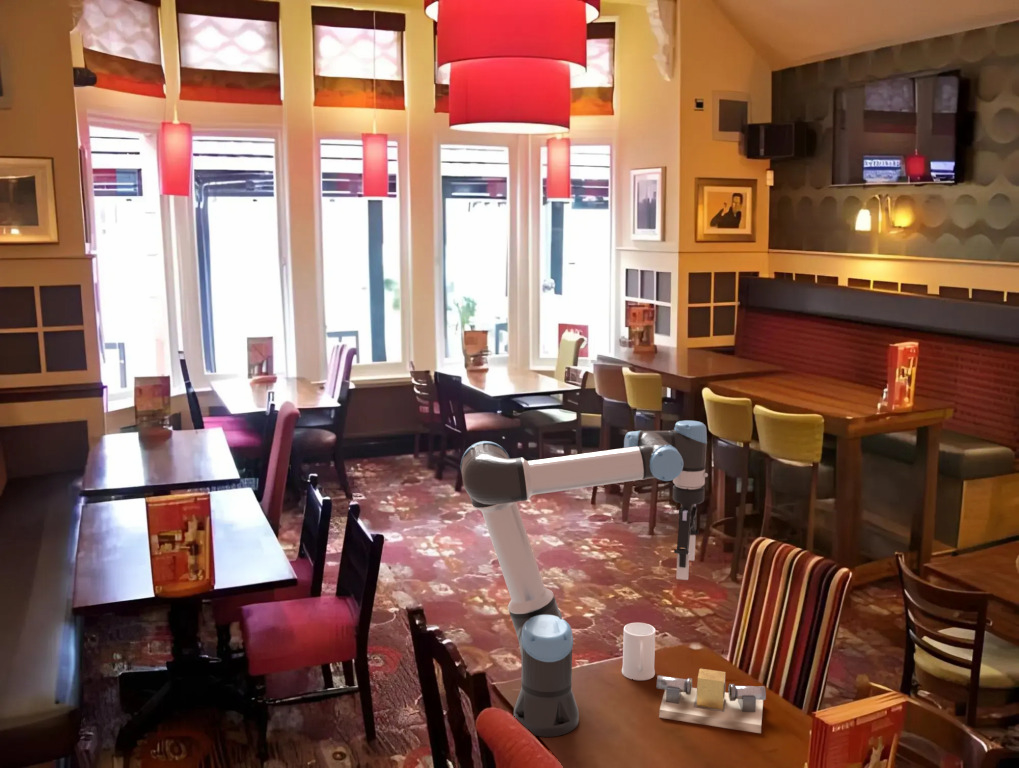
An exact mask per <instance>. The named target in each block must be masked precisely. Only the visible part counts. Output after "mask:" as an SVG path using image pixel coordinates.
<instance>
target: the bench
mask: <svg viewBox="0 0 1019 768" xmlns="http://www.w3.org/2000/svg"><path fill="white" fill-rule="evenodd" d="M763 708H764V700H756V709H755V712H742V710H741V708H740V705H739V703H738V699H736V700H735V701H730V700H729V694H728V692H726V691H725V697H724V704H723V710H721V709H714V708H708V707H701V706H697V687H692V690H691V695H686V693H685V692H681V697H680V701H679V704H676V703H669V702H666V690H664V692H663V695H662V699H661V703H660V706H659V712H658V713H659V715H658V718H660V719H666V720H673V721H679V722H680V721H681V722H686V723H691V724H697V725H705V726H710V727H711V726H712V727H717V728H723V729H729V730H737V731H741V732H742V731H743V732H749V733H755V734H756V733H757V734H762V725H763V724H762V722H763V721H762V720H763V710H764V709H763Z"/></svg>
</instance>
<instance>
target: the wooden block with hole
mask: <svg viewBox="0 0 1019 768" xmlns="http://www.w3.org/2000/svg"><path fill="white" fill-rule="evenodd" d="M696 688H697V706H701V707H708V708H714V709H721V710H723V704H724V697H725V692H726V671H721V670H712V669H707V668H706V669H705V668H699V670H698V675H697V684H696Z"/></svg>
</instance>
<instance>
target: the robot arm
mask: <svg viewBox="0 0 1019 768" xmlns="http://www.w3.org/2000/svg"><path fill="white" fill-rule="evenodd" d="M707 440H708V435H707V426H706V424H704V422H701V421H697V420H687V419H686V420H679V421H676V423H675V424H674V428H673V429H671V430H636V431H633V430H632V431H627V433H626V434H625V436H624V439H623V447H622V448H621V447H620V448H615V449H608V450H607V449H605V450H599V451H594V452H592V451H591V452H585V453H579V454H578V453H577V454H571V455H564V456H556V457H549V458H547V457H546V458H542V459H541V458H540V459H533V460H526V459H525V458H524V457H515V458H510V455H509V454H508V452H507V451H506V449H505V448H503V446H501V445H499V444H498V443H496V442H493V441H487V440H482V441H478V442H475V443H473V444H471V446H468V448H467V449H466V450H465V451H464V453H463V455H462V457H461V461H460V465H459V468H460V472H461V477H462V485H463V487H464V490H465V492H466V493H467V494H468V496H469V499H470V501H471V505H472V506H473V508H475V509H476V510H478V511H480V512H481V514H482V516H483V520H484V522H485V525H486V528H487V531H488V534H489V538H490V540H491V544H492V546H493V549H494V551H495V556H496V558H497V561H498V564H499V567H500V569H501V570H500V571H501V573H502V575H503V579H504V582H505V584H506V588H507V590H508V592H509V596H510V601H509V603H508V605H507V609H508V612H509V616H510V619H511V621H512V625H513V627H514V628H513V629H514V631H515V634H516V637H517V640H518V646H519V651H520V657H521V682H520V683H521V686H520V687H521V688H520V691H519V694H518V696H517V698H516V702H515V705H514V708H513V717H514V716H515V718H517V719H518V720H519V721H520V722H521V723H522V724H523V725H524V726H525V727H526V728H527V729H529V730H530V731H531V732H532V733H533V734H534V735H533V736H537V737H545V738H546V737H547V738H548V737H550V738H551V737H558V736H559V737H560V736H562V735H563V736H564V735H566V734H568V733H570V732H572V731H573V730H575V729H576V728H577V727H578V725H579V718H580V716H579V715H580V714H579V708H578V705H577V702H576V698H575V695H574V692H573V690H572V681H573V680H572V679H573V678H572V677H573V647H574V646H573V645H574V636H573V630H572V626H571V625H570V624H569V623H568V622H567V621H566V620H565V619H564V618H563V617H562V613H561V611H560V609H559V606H558V603H557V601H556V598H555V595H554V592H553V591H552V590H551V589H549V588H547V587H546V586H545V584H544V582H543V581H544V580H543V578H542V574H541V572H540V568H539V566H538V563H537V560H536V557H535V554H534V550H533V549H532V544H531V542H530V539H529V537H528V532H527V530H526V527H525V524H524V521H523V517H522V515H521V512H520V509H519V506H518V505H519V504H517V503H519V502H524V501H525V502H526V501H529V499H530V498H531V497H532V496H534V495H539V494H540V495H541V494H547V493H548V494H549V493H555V492H556V493H557V492H563V491H569V490H576V489H584V488H590V487H598V486H604V485H612V484H618V483H619V484H620V483H625V482H626V483H627V482H632V481H639V480H647V479H657V480H660V481H663V482H670V481H672V483H673V484H674V485H673V486H672V500H673V501H674V502H675V503H677V504H678V503H679V504H681V506H680V508H679V509H678V531H677V532H678V533H677V542H676V543H677V544H676V549H674V550H673V551H674V552H673V553H674V554H676V576H675V577H676V580H681V581H682V580H683V581H688V580H689V569H690V568H689V566H690V565H689V564H690V561H691V562H692V561H693V562H695V559H696V558H695V556H696V537H697V536H696V535H699V532H700V531H699V529H697V528H698V526H697V512H698V507H697V505H701V504H702V503H704V501H705V493H706V491H705V489H706V488H705V487H704V486H705V484H706V478H708V476H709V474H708V473H707V472H706V461H707V460H706V459H707V445H708V441H707Z"/></svg>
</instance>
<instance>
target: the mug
mask: <svg viewBox="0 0 1019 768" xmlns="http://www.w3.org/2000/svg"><path fill="white" fill-rule="evenodd" d="M622 642H623V645H622V668H621V674H622V675H623V676H624V677H625V678H626V679H629V680H632V679H633V680H634V681H649V680H651V679H652V678H654V677H655V675H656V671H655V657H656V656H655V652H656V650H655V649H656V628H655V627H654V626H653V625H651V624H649V623H645V622H631V623H627V624H625V625H624V627H623V641H622Z"/></svg>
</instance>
